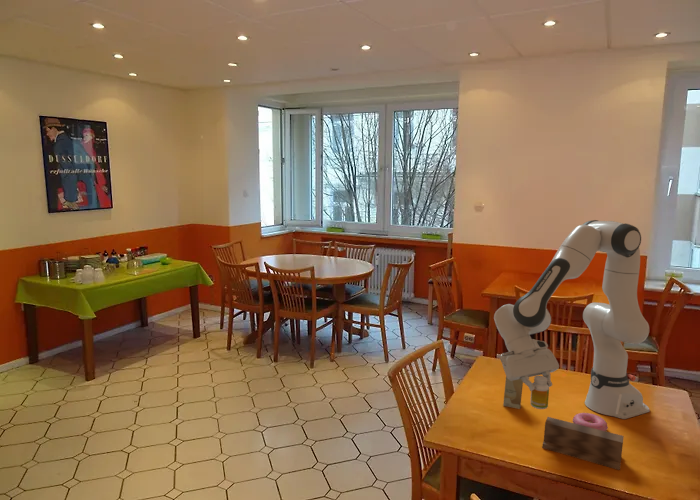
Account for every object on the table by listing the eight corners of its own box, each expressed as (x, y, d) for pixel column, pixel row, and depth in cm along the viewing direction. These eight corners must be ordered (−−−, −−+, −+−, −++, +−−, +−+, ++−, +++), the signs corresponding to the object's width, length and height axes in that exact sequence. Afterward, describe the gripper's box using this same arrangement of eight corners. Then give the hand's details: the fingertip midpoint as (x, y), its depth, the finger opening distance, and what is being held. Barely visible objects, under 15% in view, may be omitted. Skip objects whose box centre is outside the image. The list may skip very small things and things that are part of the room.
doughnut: (588, 439, 162) (589, 428, 162) (565, 423, 173) (566, 412, 172) (614, 435, 165) (615, 423, 165) (590, 419, 176) (591, 408, 175)
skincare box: (503, 406, 184) (505, 375, 182) (504, 401, 188) (506, 371, 186) (520, 409, 182) (523, 378, 180) (521, 404, 186) (523, 374, 184)
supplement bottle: (549, 410, 157) (551, 382, 156) (531, 408, 159) (533, 380, 157) (546, 402, 163) (548, 375, 161) (529, 401, 164) (531, 374, 162)
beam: (542, 447, 157) (544, 424, 155) (546, 436, 164) (548, 414, 162) (619, 470, 145) (622, 445, 144) (621, 457, 152) (623, 433, 151)
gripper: (503, 349, 160) (522, 390, 153) (549, 341, 168) (570, 379, 161) (493, 357, 165) (511, 397, 157) (539, 349, 173) (558, 386, 165)
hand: (541, 388), depth 159 cm, fingers closed on supplement bottle, 5 cm apart
